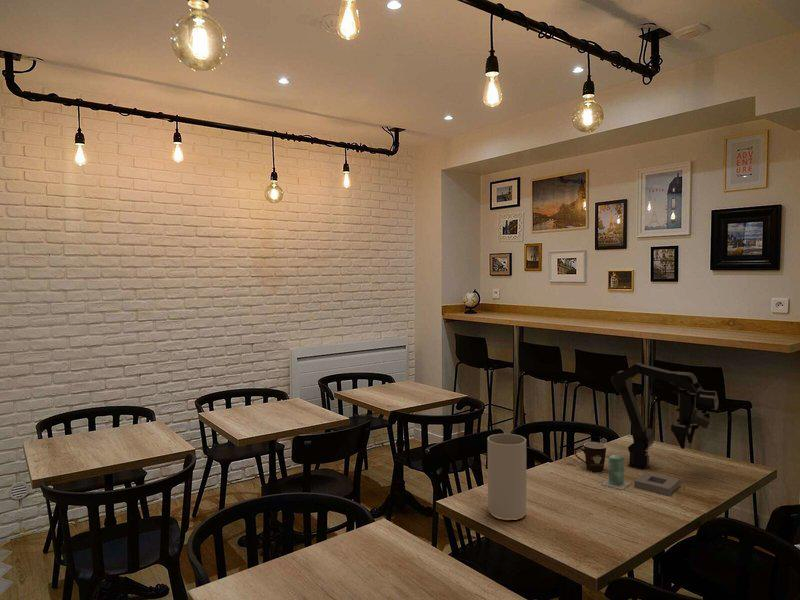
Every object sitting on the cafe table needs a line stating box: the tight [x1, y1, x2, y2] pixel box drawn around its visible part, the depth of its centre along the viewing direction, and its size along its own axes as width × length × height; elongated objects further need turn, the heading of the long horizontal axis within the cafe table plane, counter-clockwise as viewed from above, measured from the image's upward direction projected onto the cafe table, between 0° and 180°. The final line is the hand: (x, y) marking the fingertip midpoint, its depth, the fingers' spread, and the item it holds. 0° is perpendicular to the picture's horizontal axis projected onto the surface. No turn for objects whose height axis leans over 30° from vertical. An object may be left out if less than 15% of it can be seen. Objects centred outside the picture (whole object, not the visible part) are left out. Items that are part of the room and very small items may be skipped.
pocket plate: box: [633, 471, 681, 497], centre depth 202 cm, size 12×12×2 cm
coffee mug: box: [574, 441, 608, 473], centre depth 222 cm, size 12×9×10 cm
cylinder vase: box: [487, 433, 528, 518], centre depth 181 cm, size 12×12×25 cm
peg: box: [608, 454, 625, 486], centre depth 205 cm, size 4×4×10 cm
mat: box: [600, 478, 632, 491], centre depth 205 cm, size 8×8×1 cm
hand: (686, 445), depth 212 cm, fingers open, 9 cm apart
